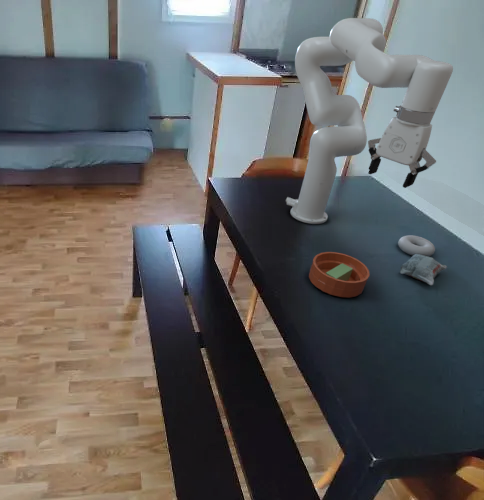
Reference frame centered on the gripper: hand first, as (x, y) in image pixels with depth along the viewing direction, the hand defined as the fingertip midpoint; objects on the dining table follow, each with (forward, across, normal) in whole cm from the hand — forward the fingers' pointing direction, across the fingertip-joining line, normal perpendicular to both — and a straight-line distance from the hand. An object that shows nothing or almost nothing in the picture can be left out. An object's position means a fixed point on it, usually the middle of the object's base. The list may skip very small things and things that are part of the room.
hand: (388, 179), depth 110 cm
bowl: (+25, +4, -18) cm, 31 cm away
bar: (+25, +4, -18) cm, 31 cm away
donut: (+26, +8, +18) cm, 33 cm away
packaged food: (+25, +16, +6) cm, 30 cm away
